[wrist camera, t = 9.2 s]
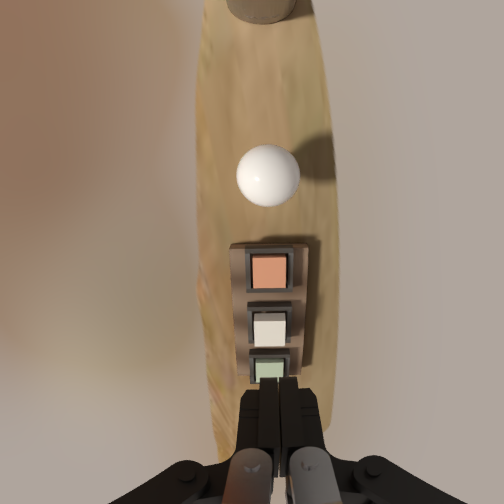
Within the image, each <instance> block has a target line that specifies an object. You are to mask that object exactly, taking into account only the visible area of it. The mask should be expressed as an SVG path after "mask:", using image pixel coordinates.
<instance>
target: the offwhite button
mask: <svg viewBox="0 0 504 504" xmlns="http://www.w3.org/2000/svg"><path fill="white" fill-rule="evenodd" d="M285 326H286V320H285V313H256V314H254V341H255V347H261V346H285Z"/></svg>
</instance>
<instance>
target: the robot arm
mask: <svg viewBox="0 0 504 504" xmlns="http://www.w3.org/2000/svg"><path fill="white" fill-rule="evenodd" d="M226 1H227V5H228V8H229V9H230V11H231V12H232V13H233V14H234V15H235V16H236V17H238V18H239V19H241V20H243V21H246V22H249V23H253V24H270V23H274V22H277V21H280V20H282V19H284V18H285V17H286V16H288V15H289V14H290V13H291V12H292V10H293V8H294V6H295V2H296V0H226ZM278 470H280V477H286V490H285V497H286V504H467V503H465V502H463V501H460V500H459V499H457V498H455V497H453V496H451V495H448V494H447V493H445V492H443V491H441V490H439V489H437V488H435V487H433V486H432V485H430V484H428V483H426V482H424V481H423V480H421V479H419V478H417V477H416V476H414V475H412V474H410V473H409V472H407V471H405V470H404V469H402V468H400V467H398V466H397V465H395V464H394V463H392V462H390V461H389V460H387V459H386V458H384V457H381V456H376V455H372V456H367V457H364V458H362V459H361V460H359V461H358V462H355V461H347V460H341V459H338V458H335V457H334V456H332V455H331V454H330V453H329V452H328V451H327V450H326V448H325V444H324V439H323V432H322V427H321V421H320V416H319V409H318V403H317V398H316V396H315V394H314V393H313V392H312V390H311V389H310V388H302V389H298V382H297V377H279V386H278V377H260V390H246V392H245V393H244V394H243V396H242V397H241V401H240V412H239V422H238V432H237V442H236V450H235V452H234V454H233V455H232V456H231V457H230V458H229V459H228V460H226V461H224V462H222V463H219V464H214V465H209V466H203V465H201V464H200V463H198V462H195V461H191V460H184V461H179V462H177V463H175V464H173V465H172V466H170V467H169V468H167V469H166V470H164V471H163V472H161V473H159V474H158V475H156V476H155V477H153V478H152V479H150V480H148V481H147V482H145V483H144V484H142V485H140V486H139V487H137V488H135V489H134V490H132V491H130V492H129V493H127V494H125V495H123V496H121V497H120V498H118V499H116V500H114V501H112V502H111V503H109V504H270V499H271V494H272V492H273V482H274V477H278Z"/></svg>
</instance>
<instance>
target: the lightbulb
mask: <svg viewBox="0 0 504 504" xmlns="http://www.w3.org/2000/svg"><path fill="white" fill-rule="evenodd" d="M236 177H237V183H238V186H239V189H240V191H241V192H242V194H243V195H244V196H245V197H246V198H247V199H248V200H249V201H250V202H252V203H254V204H256V205H259V206H263V207H274V206H278V205H281V204H283V203H285V202H287V201H288V200H289V199H290V198H291V197H292V196H293V195H294V194H295V192H296V191H297V189H298V186H299V183H300V169H299V165H298V163H297V161H296V159H295V158H294V156H293V155H292V154H291V153H290V152H289V151H288V150H286V149H284V148H283V147H280V146H278V145H273V144H263V145H259V146H256V147H254V148H252V149H250V150H249V151H248V152H246V153H245V154H244V156H243V157H242V158H241V160H240V162H239V164H238V167H237V173H236Z"/></svg>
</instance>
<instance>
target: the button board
mask: <svg viewBox="0 0 504 504" xmlns="http://www.w3.org/2000/svg"><path fill="white" fill-rule="evenodd" d="M229 253H230V270H231V287H232V303H233V318H234V332H235V346H236V360H237V373H238V375H250V384H260V382H256V358H283V362H284V363H283V377H289V375H301V367H302V355H303V343H304V329H305V313H306V295H307V274H308V246H307V243H282V244H231V246H230V248H229ZM258 253H285V255H286V288H253V254H258ZM256 313H285V320H286V326H285V346H261V347H255V341H254V314H256ZM278 384H279V382H278Z"/></svg>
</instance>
